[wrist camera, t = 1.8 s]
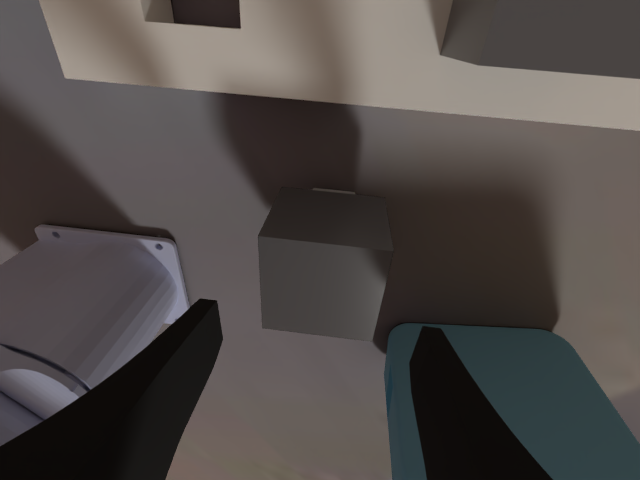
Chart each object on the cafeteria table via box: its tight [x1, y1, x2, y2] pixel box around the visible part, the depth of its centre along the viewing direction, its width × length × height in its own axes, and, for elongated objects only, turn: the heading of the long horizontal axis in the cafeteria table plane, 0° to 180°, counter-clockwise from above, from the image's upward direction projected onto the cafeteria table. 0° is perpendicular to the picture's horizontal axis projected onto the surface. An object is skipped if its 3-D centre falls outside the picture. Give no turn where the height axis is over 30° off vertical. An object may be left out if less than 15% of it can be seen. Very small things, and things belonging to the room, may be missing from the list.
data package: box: [384, 323, 640, 480], centre depth 19 cm, size 12×4×12 cm, turn 92°
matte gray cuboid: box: [258, 187, 394, 342], centre depth 16 cm, size 5×5×7 cm
